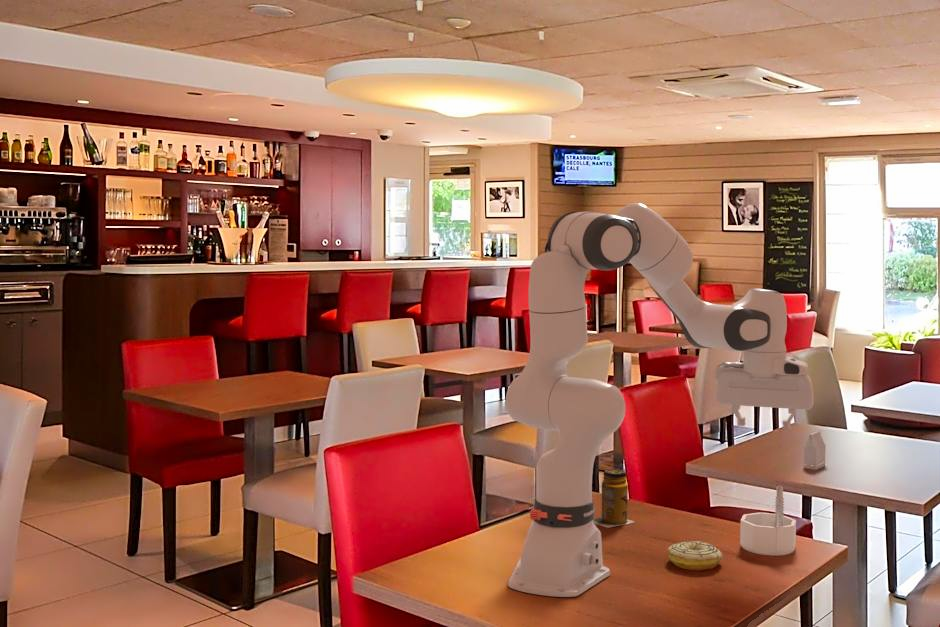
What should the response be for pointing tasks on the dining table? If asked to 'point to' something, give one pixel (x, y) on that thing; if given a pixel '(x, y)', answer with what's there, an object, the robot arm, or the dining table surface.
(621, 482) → the condiment
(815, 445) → the white faceted block
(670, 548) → the decorated donut
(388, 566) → the dining table surface
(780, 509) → the screw
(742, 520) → the white faceted bowl
